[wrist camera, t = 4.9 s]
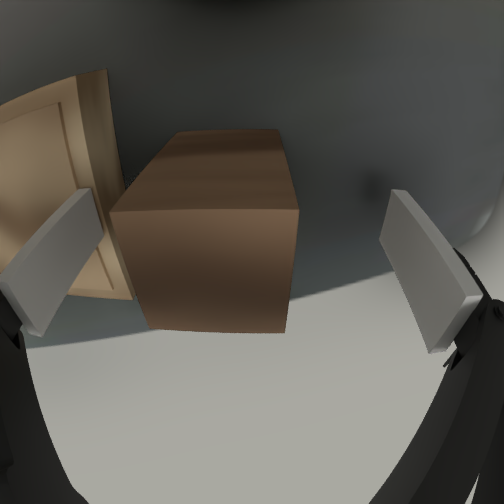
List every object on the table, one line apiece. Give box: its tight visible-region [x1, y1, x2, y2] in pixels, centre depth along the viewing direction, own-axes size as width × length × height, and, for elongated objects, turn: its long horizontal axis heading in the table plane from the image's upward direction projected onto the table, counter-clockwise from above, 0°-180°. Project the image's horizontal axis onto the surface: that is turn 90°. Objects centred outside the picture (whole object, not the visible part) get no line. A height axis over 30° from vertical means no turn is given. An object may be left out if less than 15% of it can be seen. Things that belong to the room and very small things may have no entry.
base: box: [0, 69, 136, 300], centre depth 14 cm, size 13×14×3 cm
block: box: [109, 129, 299, 333], centre depth 12 cm, size 5×5×8 cm
